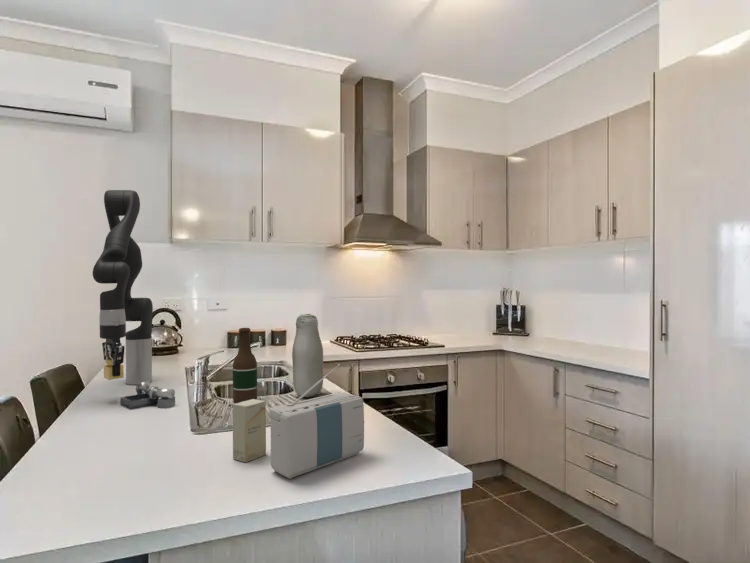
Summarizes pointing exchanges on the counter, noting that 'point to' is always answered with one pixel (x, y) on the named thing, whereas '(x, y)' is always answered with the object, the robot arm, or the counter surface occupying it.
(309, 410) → the stereo radio cassette player
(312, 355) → the grey bottle
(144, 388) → the shaft left
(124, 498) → the counter surface
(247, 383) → the beer bottle
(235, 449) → the skincare box
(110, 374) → the gold square-based knob
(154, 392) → the shaft right
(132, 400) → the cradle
